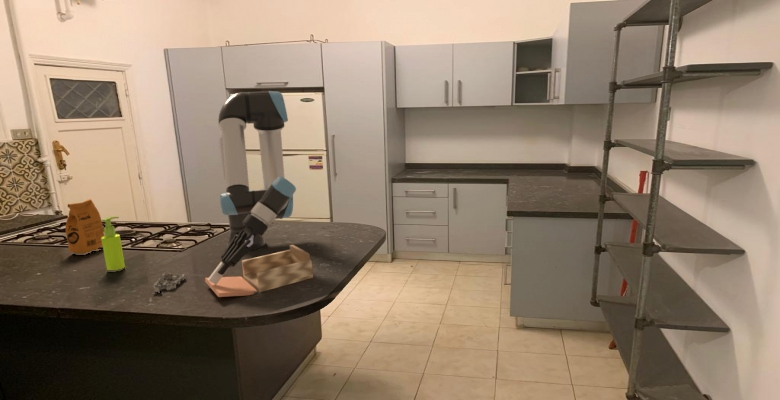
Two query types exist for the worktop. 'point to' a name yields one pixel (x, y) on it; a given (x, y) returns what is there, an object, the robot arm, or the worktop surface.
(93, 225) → the coffee package
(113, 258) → the soap dispenser
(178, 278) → the egg carton
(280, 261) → the wooden open box
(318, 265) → the worktop surface
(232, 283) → the panel
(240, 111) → the robot arm
